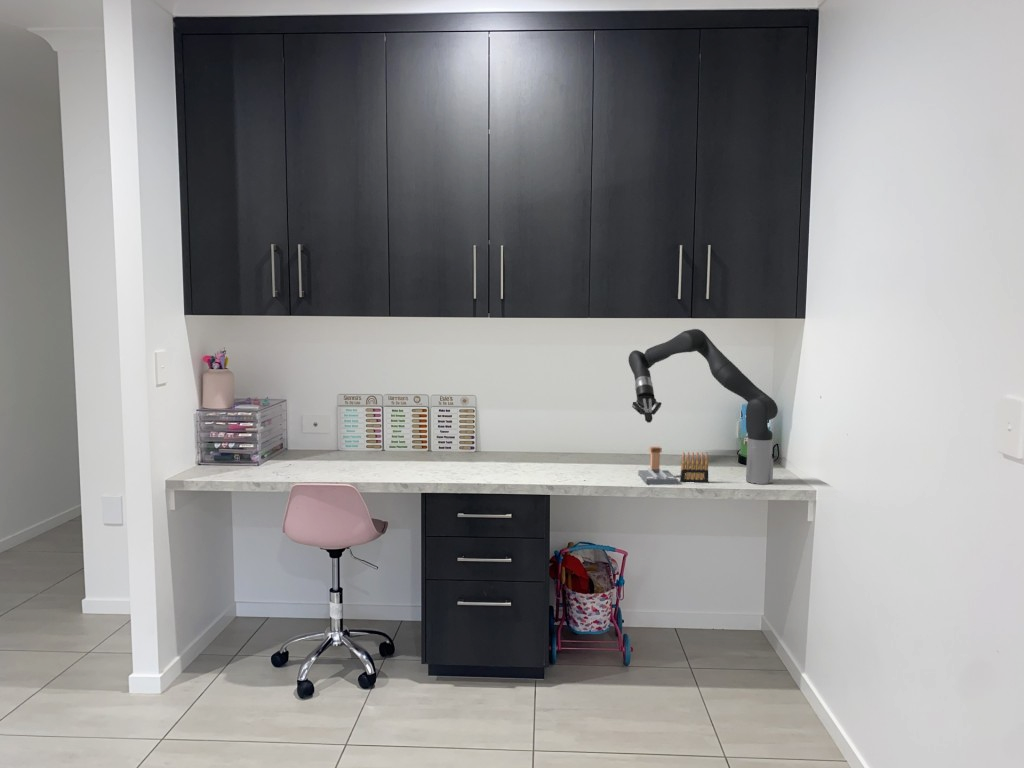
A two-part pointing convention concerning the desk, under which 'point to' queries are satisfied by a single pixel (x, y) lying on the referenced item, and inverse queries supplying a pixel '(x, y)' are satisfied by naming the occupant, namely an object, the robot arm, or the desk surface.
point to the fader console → (657, 477)
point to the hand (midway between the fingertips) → (649, 421)
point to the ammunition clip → (694, 469)
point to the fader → (655, 458)
